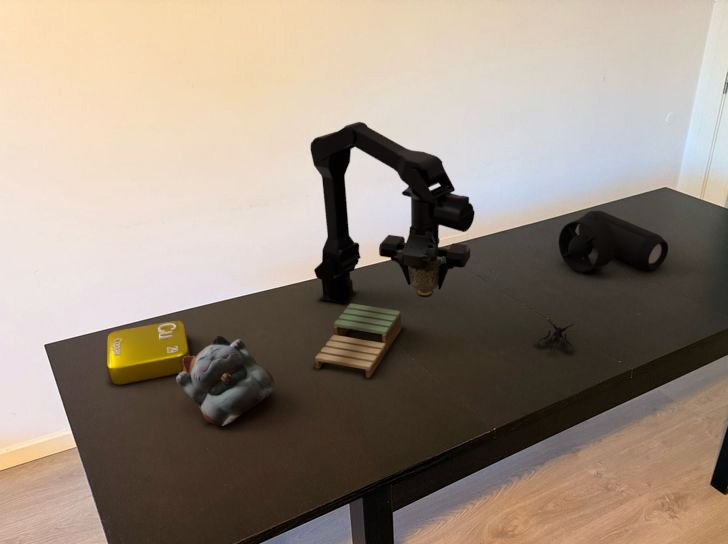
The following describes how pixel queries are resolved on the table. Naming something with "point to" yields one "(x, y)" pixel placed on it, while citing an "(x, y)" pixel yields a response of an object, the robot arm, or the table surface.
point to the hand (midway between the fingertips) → (424, 286)
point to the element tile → (146, 352)
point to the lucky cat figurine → (224, 380)
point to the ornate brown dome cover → (425, 278)
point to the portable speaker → (632, 242)
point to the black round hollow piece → (587, 243)
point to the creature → (557, 337)
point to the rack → (356, 349)
